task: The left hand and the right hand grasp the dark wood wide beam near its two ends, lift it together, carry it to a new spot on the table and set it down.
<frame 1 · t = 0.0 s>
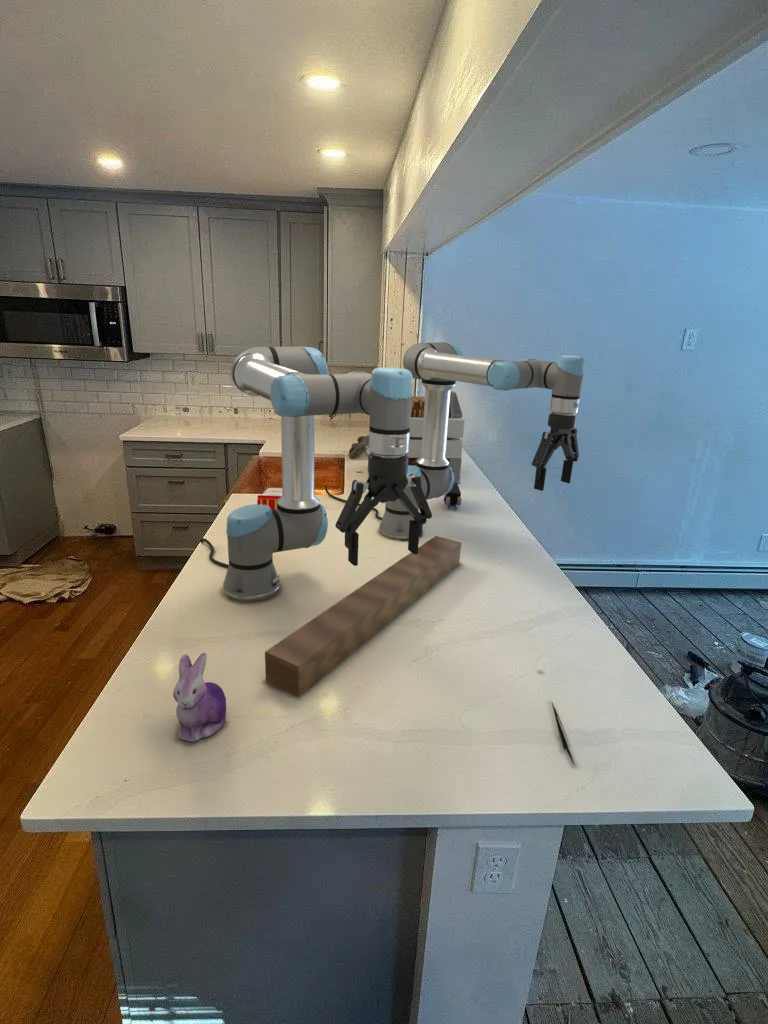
left hand: (383, 557, 113), 28 cm above the counter, tool pointing down, fingers open, 13 cm apart
right hand: (552, 485, 166), 28 cm above the counter, tool pointing down, fingers open, 13 cm apart
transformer: (419, 473, 275), on the counter
fossil: (360, 455, 304), on the counter
figurine: (202, 726, 106), on the counter
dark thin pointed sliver: (554, 714, 113), on the counter
toy: (277, 521, 207), on the counter
wide beam: (381, 611, 149), on the counter
figurine character: (451, 505, 231), on the counter
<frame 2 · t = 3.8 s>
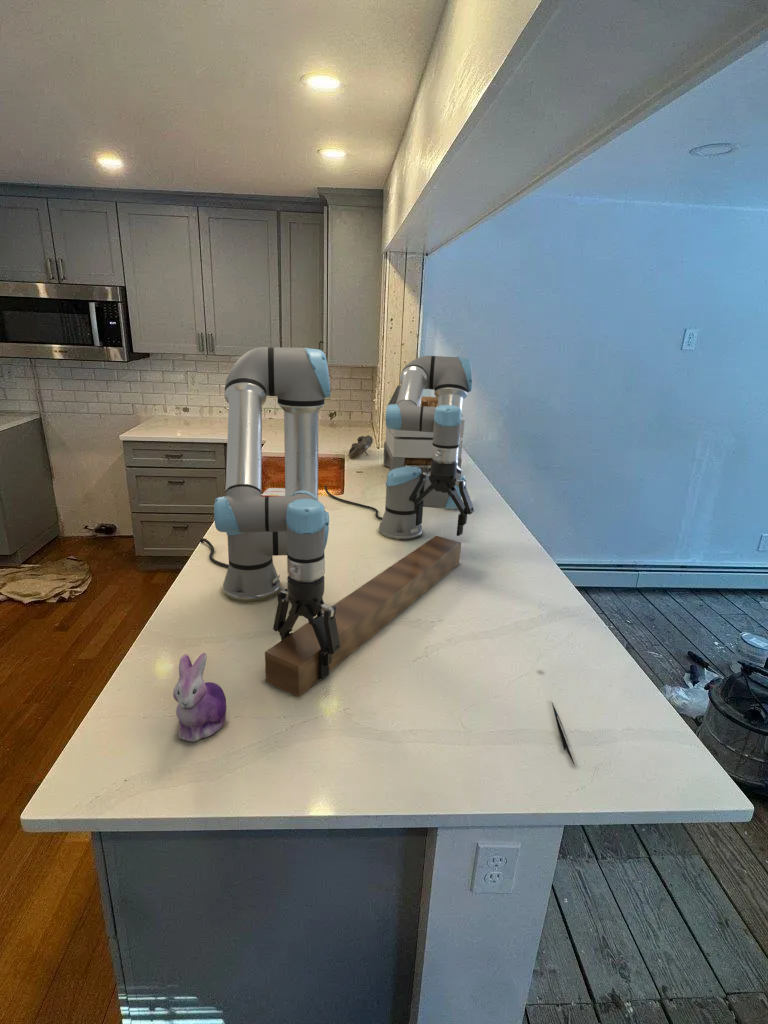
left hand: (306, 668, 123), 0 cm above the counter, tool pointing down, fingers closed on wide beam, 9 cm apart
right hand: (438, 529, 170), 13 cm above the counter, tool pointing down, fingers open, 13 cm apart
wide beam: (381, 611, 149), on the counter, touching left hand
everything else where it was.
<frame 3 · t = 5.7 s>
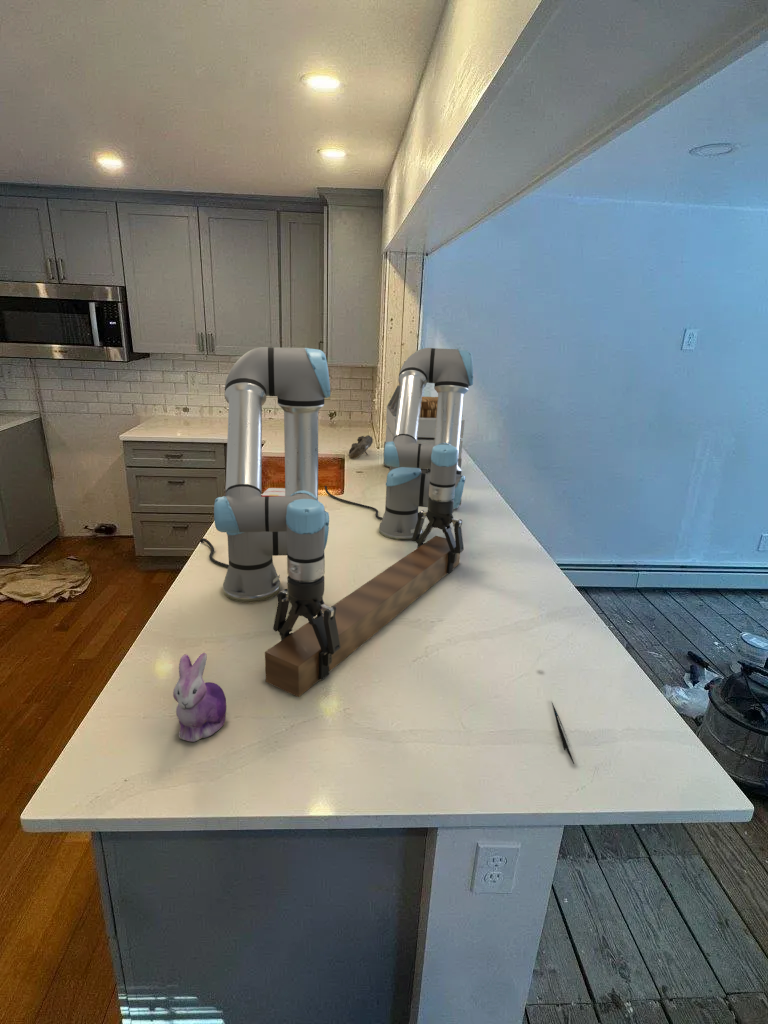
left hand: (306, 668, 123), 0 cm above the counter, tool pointing down, fingers closed on wide beam, 9 cm apart
right hand: (435, 567, 174), 0 cm above the counter, tool pointing down, fingers closed on wide beam, 9 cm apart
wide beam: (381, 610, 149), on the counter, touching right hand, left hand
everything else where it was.
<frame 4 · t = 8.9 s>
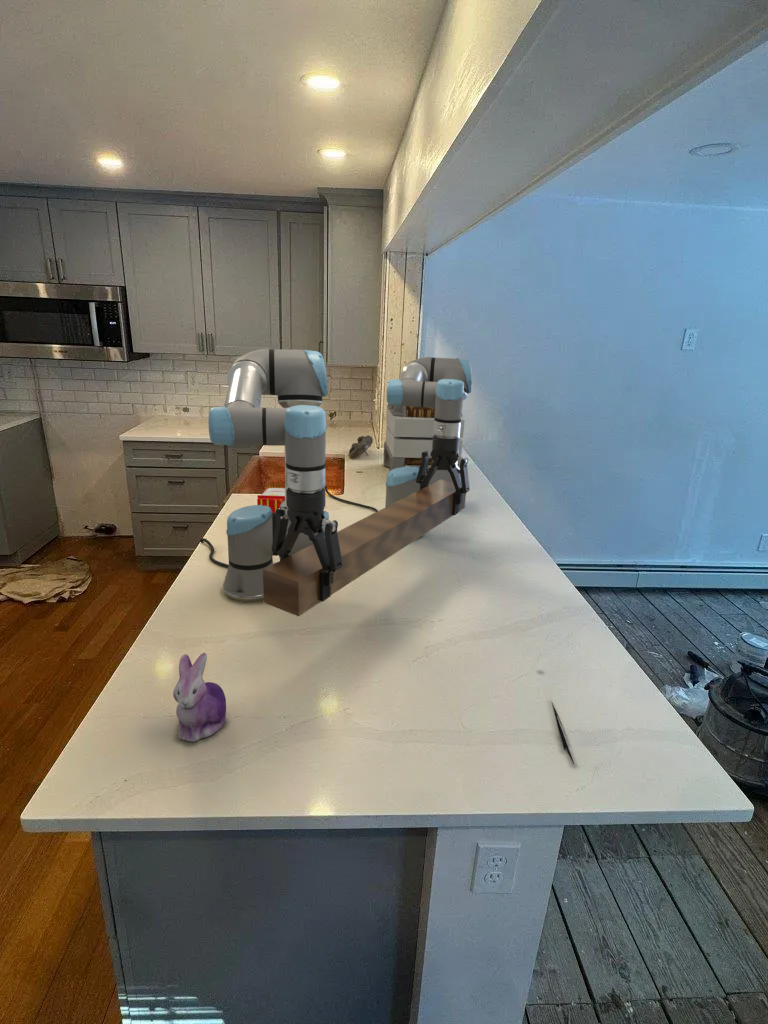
left hand: (306, 591, 117), 19 cm above the counter, tool pointing down, fingers closed on wide beam, 9 cm apart
right hand: (440, 510, 168), 19 cm above the counter, tool pointing down, fingers closed on wide beam, 9 cm apart
wide beam: (385, 545, 143), point 19 cm above the counter, touching right hand, left hand
everything else where it was.
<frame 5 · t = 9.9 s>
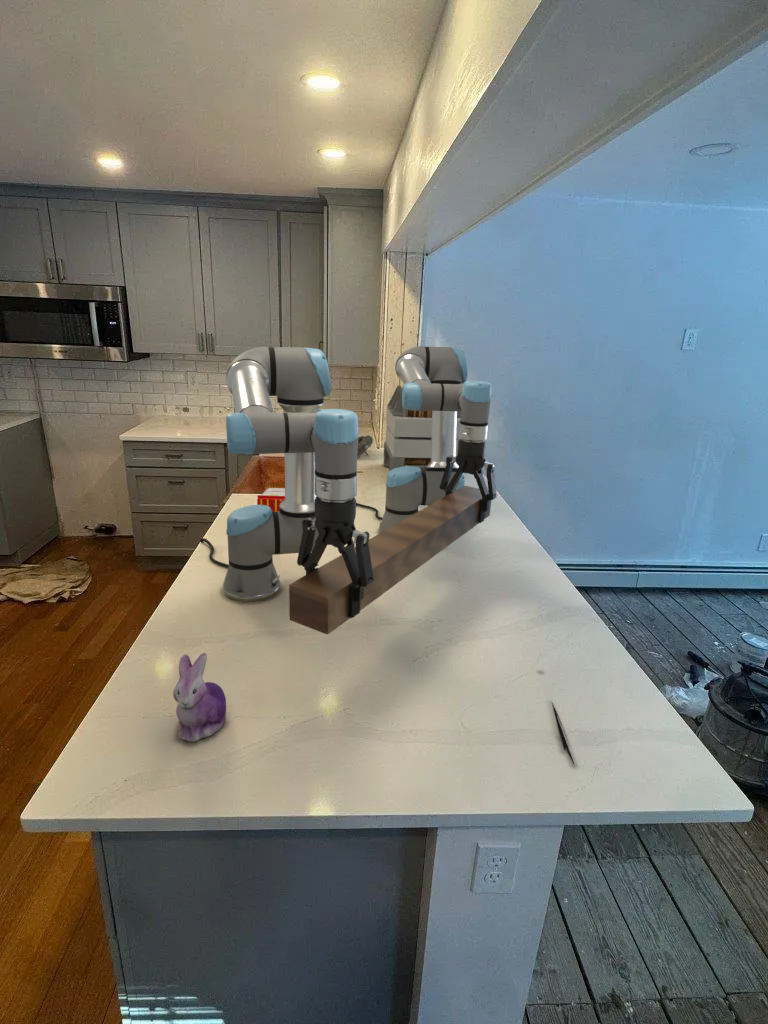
left hand: (333, 607, 110), 20 cm above the counter, tool pointing down, fingers closed on wide beam, 9 cm apart
right hand: (465, 517, 161), 20 cm above the counter, tool pointing down, fingers closed on wide beam, 9 cm apart
wide beam: (411, 556, 136), point 19 cm above the counter, touching right hand, left hand
everything else where it was.
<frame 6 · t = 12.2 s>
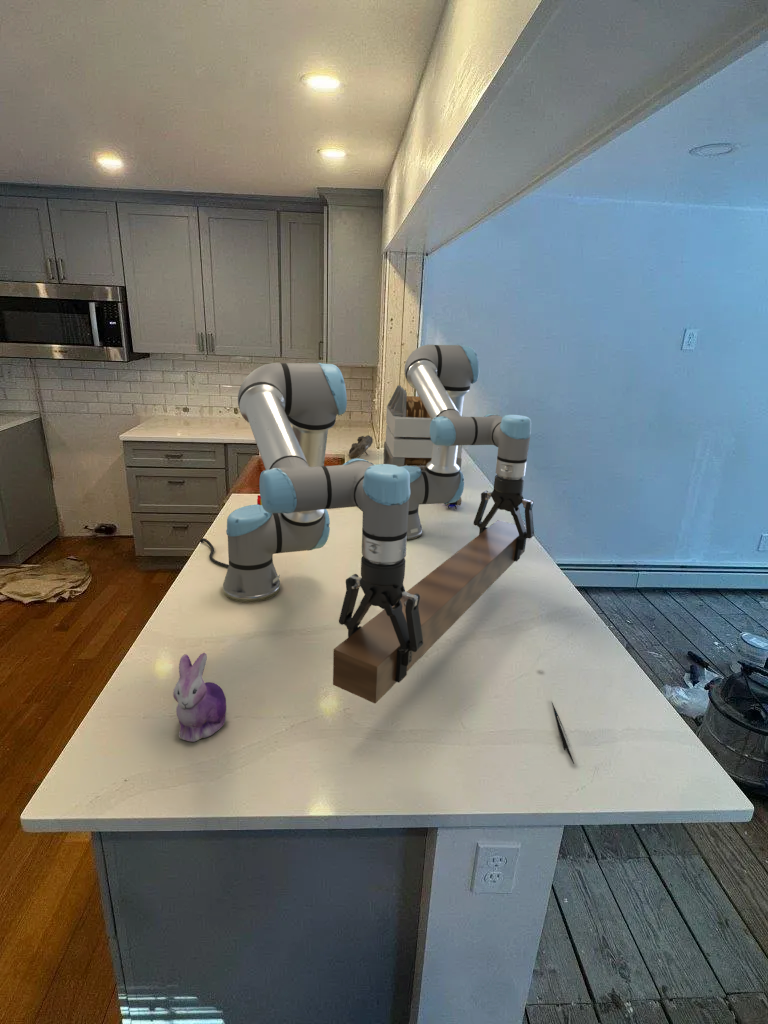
left hand: (378, 668, 104), 13 cm above the counter, tool pointing down, fingers closed on wide beam, 9 cm apart
right hand: (499, 555, 155), 13 cm above the counter, tool pointing down, fingers closed on wide beam, 9 cm apart
wide beam: (450, 602, 129), point 12 cm above the counter, touching right hand, left hand
everything else where it was.
when the left hand's fingers open (2 cm above the counter, at t = 14.2 s): wide beam drops 1 cm, on the counter.
when the right hand's fingers open (2 cm above the counter, at t = 14.2 s): wide beam drops 1 cm, on the counter.
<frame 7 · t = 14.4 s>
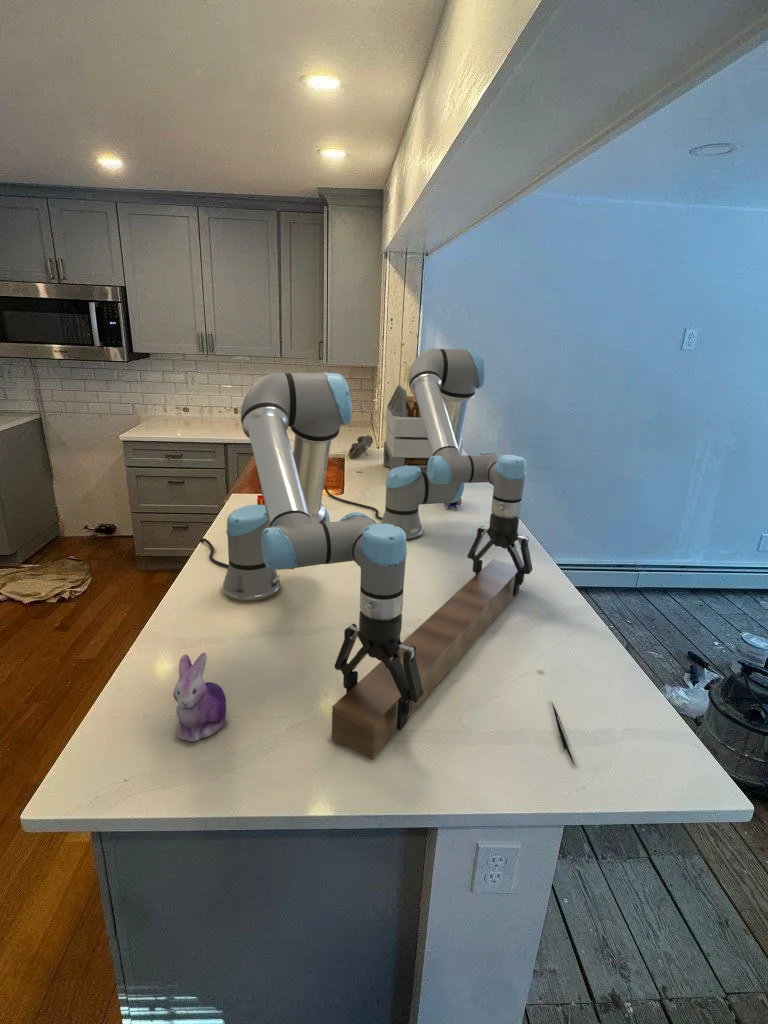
left hand: (376, 714, 107), 3 cm above the counter, tool pointing down, fingers open, 11 cm apart
right hand: (496, 588, 158), 3 cm above the counter, tool pointing down, fingers open, 11 cm apart
wide beam: (446, 648, 134), on the counter
everything else where it was.
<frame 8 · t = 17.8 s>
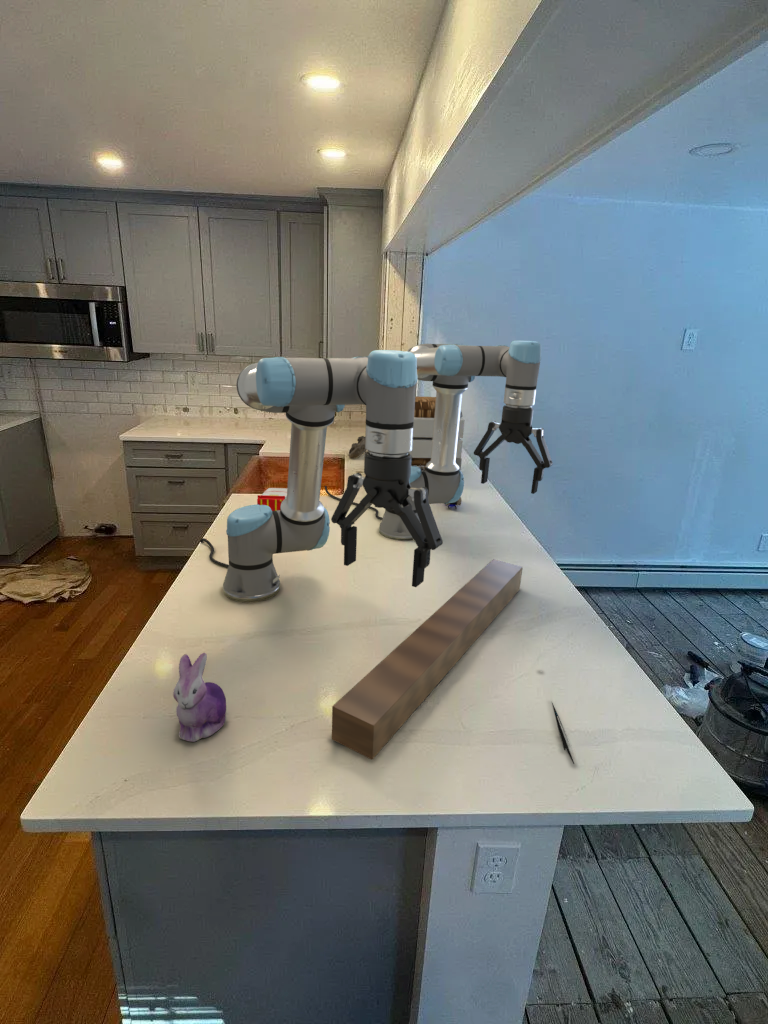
left hand: (382, 573, 97), 32 cm above the counter, tool pointing down, fingers open, 13 cm apart
right hand: (508, 487, 148), 32 cm above the counter, tool pointing down, fingers open, 13 cm apart
nothing on the counter moved.
at the end: wide beam inside the target area (0.2 cm from its centre), on the counter; wide beam tilted 0°; wide beam never tilted more than 1° during the clip; both hands held the wide beam at the same time; the left hand is holding nothing; the right hand is holding nothing; wide beam at rest at the end (0.0 cm/s) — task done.
